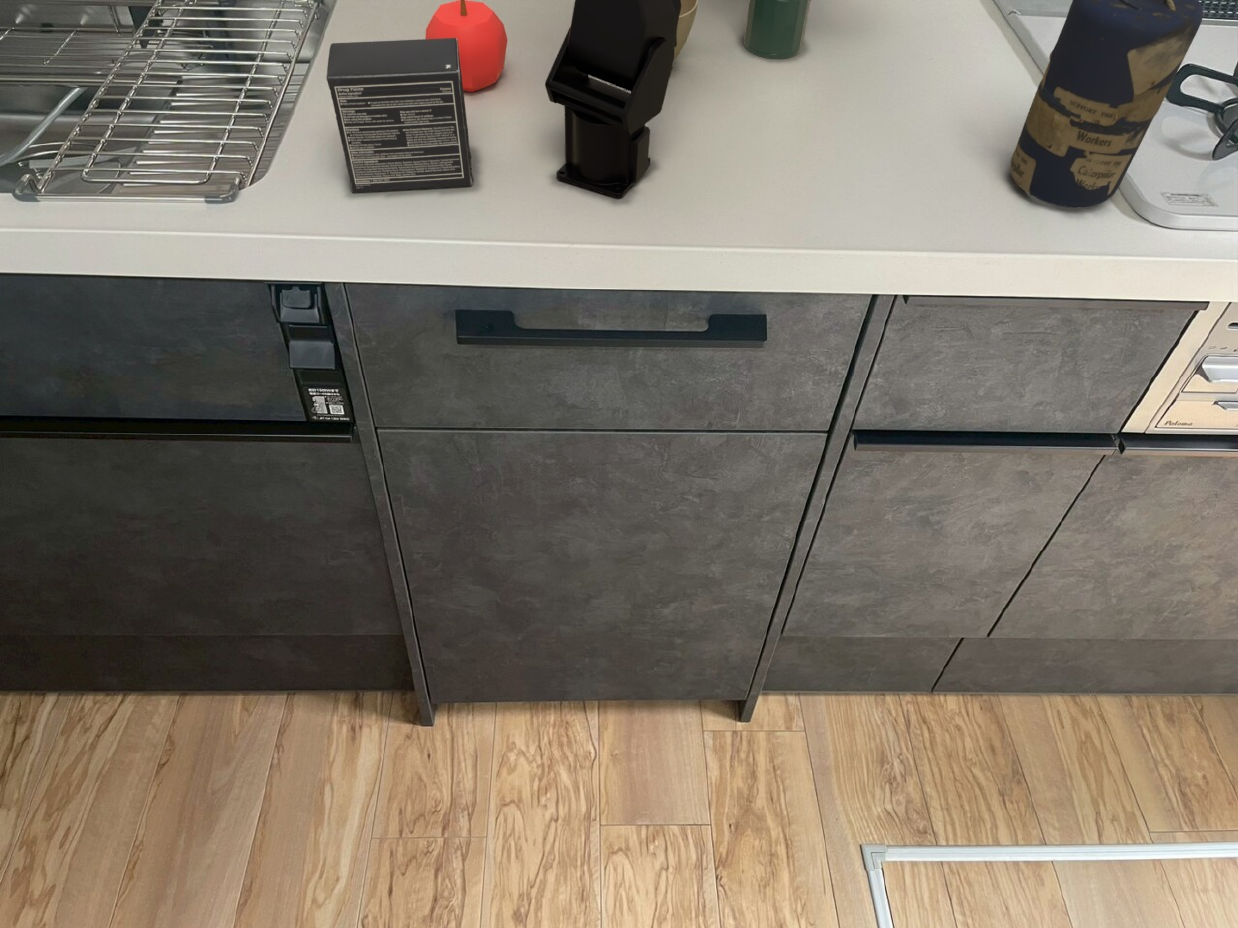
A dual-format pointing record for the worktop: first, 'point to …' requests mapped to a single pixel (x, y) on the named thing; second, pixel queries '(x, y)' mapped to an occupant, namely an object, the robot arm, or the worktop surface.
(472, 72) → the apple
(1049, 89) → the canister
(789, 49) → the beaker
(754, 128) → the worktop surface
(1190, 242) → the worktop surface
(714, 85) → the worktop surface
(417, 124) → the small box
